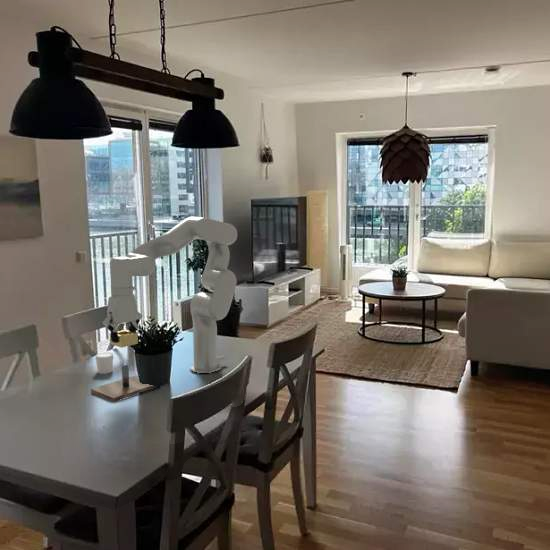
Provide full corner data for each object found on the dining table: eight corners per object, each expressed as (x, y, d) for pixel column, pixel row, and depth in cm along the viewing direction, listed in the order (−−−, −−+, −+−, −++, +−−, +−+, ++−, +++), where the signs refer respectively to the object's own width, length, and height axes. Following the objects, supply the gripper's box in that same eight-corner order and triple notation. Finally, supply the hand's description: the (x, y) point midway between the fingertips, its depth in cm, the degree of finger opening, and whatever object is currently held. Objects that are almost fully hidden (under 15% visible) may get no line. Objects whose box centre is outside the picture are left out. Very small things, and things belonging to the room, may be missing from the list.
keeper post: (126, 384, 209) (125, 362, 208) (130, 385, 208) (129, 364, 206) (121, 385, 207) (120, 364, 206) (125, 387, 206) (124, 365, 205)
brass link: (126, 340, 210) (125, 329, 209) (137, 343, 205) (137, 332, 205) (110, 344, 205) (109, 333, 204) (121, 347, 200) (121, 336, 200)
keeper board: (137, 378, 220) (136, 374, 220) (159, 386, 211) (159, 382, 211) (91, 392, 205) (91, 388, 204) (113, 402, 196) (113, 398, 196)
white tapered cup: (116, 369, 231) (115, 352, 230) (110, 374, 225) (109, 357, 224) (100, 368, 232) (99, 352, 231) (93, 374, 225) (92, 357, 224)
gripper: (135, 287, 211) (137, 333, 214) (94, 293, 198) (96, 343, 201) (148, 289, 206) (149, 337, 209) (106, 296, 193) (109, 346, 196)
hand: (123, 339), depth 205 cm, fingers closed on brass link, 7 cm apart
